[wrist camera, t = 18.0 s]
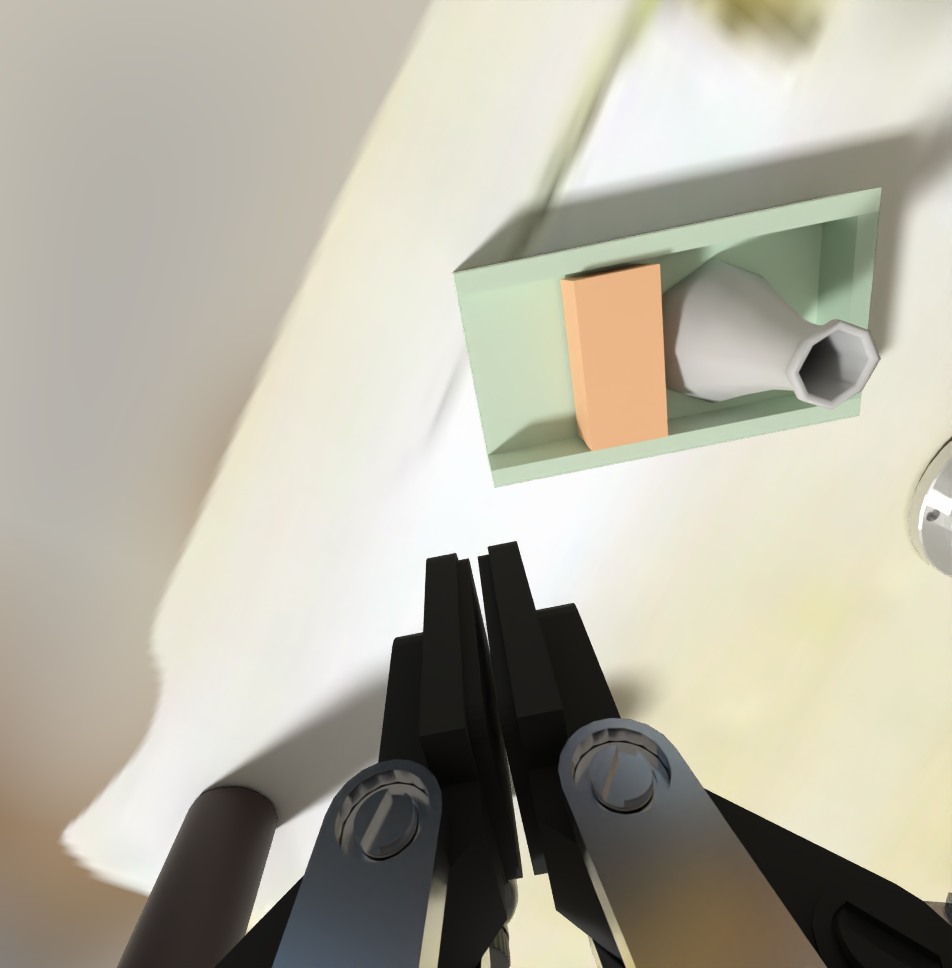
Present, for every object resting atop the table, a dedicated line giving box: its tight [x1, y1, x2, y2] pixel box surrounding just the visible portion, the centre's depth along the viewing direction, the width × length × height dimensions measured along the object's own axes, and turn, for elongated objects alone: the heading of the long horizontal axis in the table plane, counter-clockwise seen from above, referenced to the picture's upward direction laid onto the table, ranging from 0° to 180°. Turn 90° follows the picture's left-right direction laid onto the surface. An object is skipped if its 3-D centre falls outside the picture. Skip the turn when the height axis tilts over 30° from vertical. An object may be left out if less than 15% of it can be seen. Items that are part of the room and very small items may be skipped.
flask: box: [662, 258, 881, 410], centre depth 24 cm, size 7×7×10 cm
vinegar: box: [117, 787, 277, 968], centre depth 33 cm, size 7×7×20 cm
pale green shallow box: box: [453, 187, 882, 488], centre depth 28 cm, size 20×11×4 cm, turn 100°
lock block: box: [560, 264, 668, 451], centre depth 27 cm, size 4×8×3 cm, turn 11°
